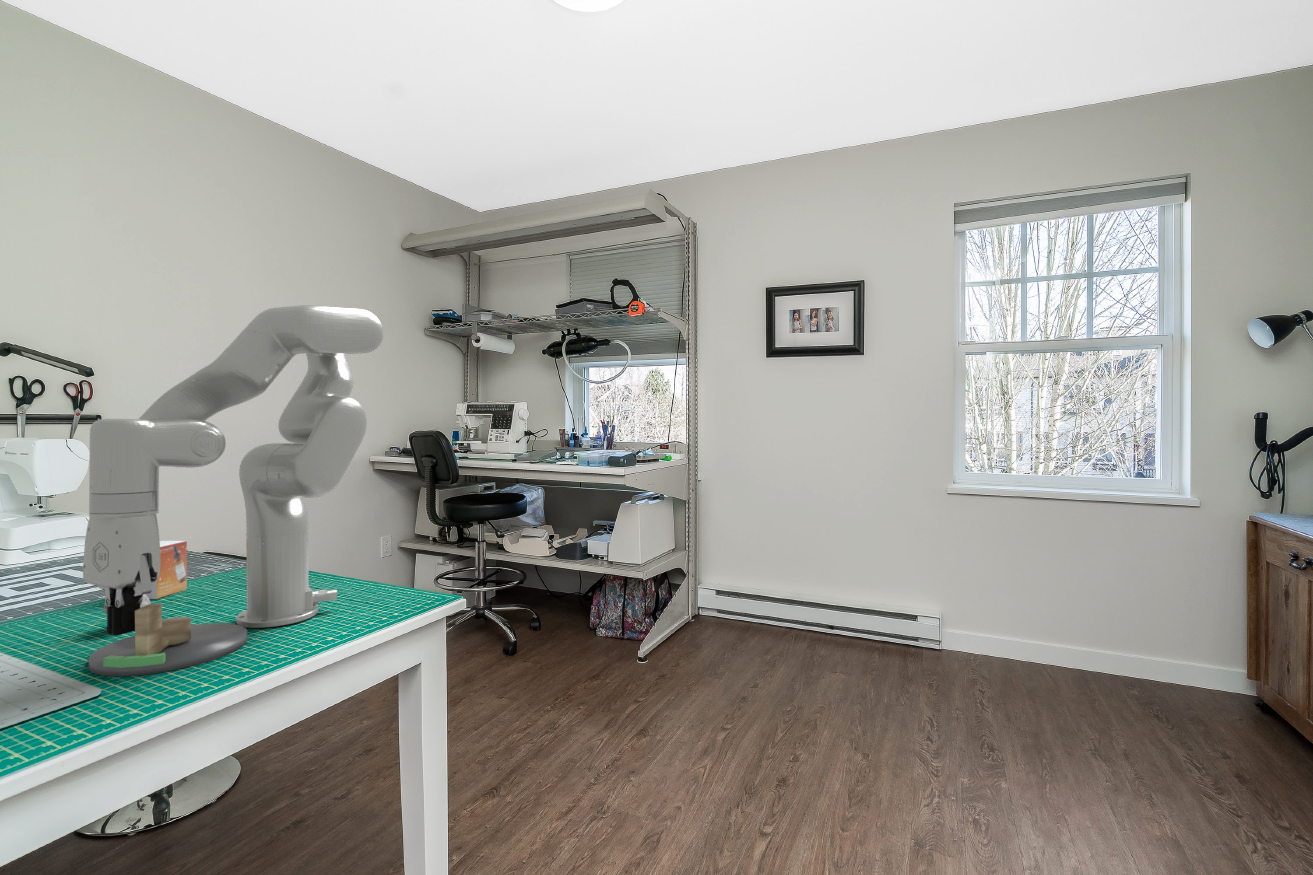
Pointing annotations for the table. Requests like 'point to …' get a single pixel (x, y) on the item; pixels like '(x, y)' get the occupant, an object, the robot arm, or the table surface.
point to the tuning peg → (158, 630)
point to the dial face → (169, 652)
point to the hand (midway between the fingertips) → (123, 631)
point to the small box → (170, 570)
